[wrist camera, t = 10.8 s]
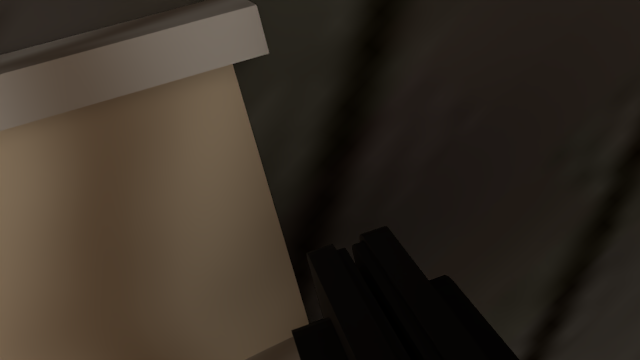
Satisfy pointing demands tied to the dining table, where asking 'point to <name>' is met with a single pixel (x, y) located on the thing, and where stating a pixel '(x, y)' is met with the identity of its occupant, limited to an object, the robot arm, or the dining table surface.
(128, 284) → the dock
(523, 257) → the dining table surface
